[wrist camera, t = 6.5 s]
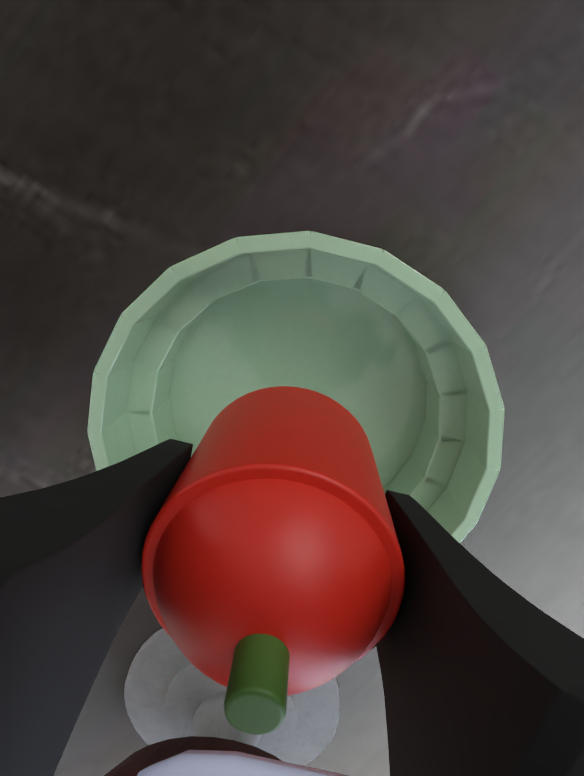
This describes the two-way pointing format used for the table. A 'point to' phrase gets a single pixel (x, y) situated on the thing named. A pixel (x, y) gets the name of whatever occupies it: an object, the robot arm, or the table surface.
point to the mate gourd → (212, 713)
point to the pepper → (275, 552)
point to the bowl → (309, 361)
